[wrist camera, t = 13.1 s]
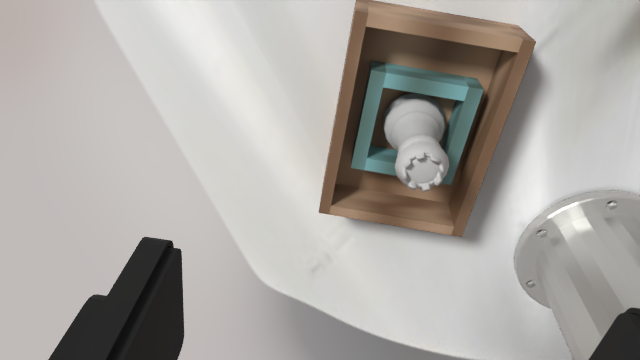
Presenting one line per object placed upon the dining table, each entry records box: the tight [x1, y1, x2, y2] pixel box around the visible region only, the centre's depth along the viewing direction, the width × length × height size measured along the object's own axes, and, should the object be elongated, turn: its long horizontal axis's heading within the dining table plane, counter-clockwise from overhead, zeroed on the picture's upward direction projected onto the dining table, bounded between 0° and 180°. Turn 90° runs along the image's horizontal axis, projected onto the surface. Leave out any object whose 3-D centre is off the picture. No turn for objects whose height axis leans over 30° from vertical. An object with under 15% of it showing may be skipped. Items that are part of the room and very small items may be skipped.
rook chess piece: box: [382, 93, 449, 192], centre depth 32 cm, size 4×4×8 cm
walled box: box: [319, 0, 536, 237], centre depth 35 cm, size 11×15×4 cm
